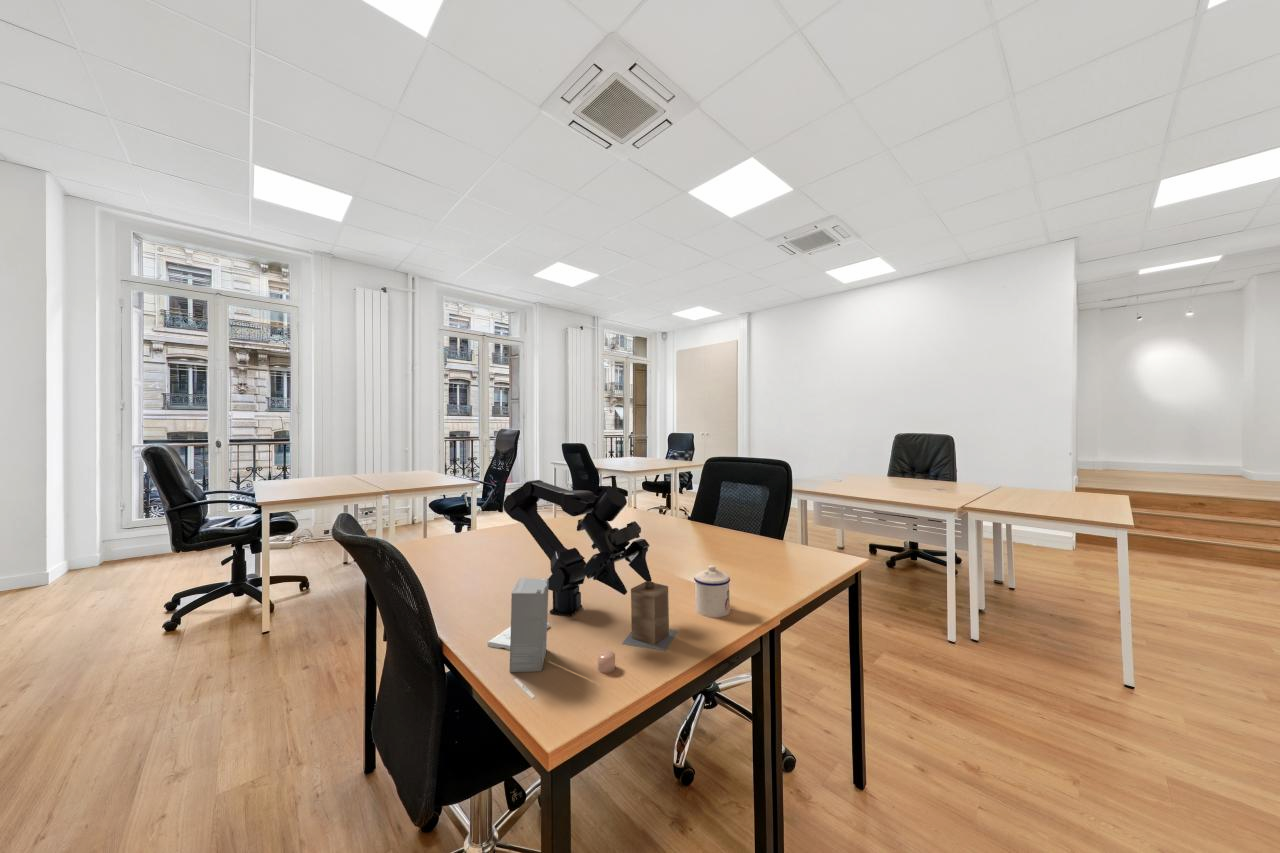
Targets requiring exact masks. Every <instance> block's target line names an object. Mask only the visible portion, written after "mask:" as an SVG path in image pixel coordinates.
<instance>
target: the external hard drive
mask: <svg viewBox="0 0 1280 853" xmlns="http://www.w3.org/2000/svg"><path fill="white" fill-rule="evenodd" d="M550 627H551V623H549V622H548V621H547V628H548V629H549V628H550ZM510 640H511V625H510V626H509V627H507V629H505V630H503V631H501V632H500V633H499V634H498V635H497V636H495V637H493V638H491V639H490V640H489V641H487V647H491V648H495V649H496V648H498V649H505V650H506V651H508V650H509V651H510Z"/></svg>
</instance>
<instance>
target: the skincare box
mask: <svg viewBox="0 0 1280 853" xmlns="http://www.w3.org/2000/svg"><path fill="white" fill-rule="evenodd" d="M548 585H549V577H548V578H547V577H546V578H542V577H541V578H536V577H535V578H533V577H532V578H531V577H529V578H528V577H526V578H525V577H524V578H519V579H518V581H517V582H516V584H515V586H514V588H513V590H511V593H510V594H511V606H510V607H511V609H510V610H511V611H510V612H511V614H510V626H511V640H510V650H509V655H510V656H509V672H510V673H525V672H526V673H527V672H528V673H529V672H530V673H531V672H541V671H543V667H544V662H545V657H546V652H547V646H548V645H547V640H548V639H547V638H548V637H547V636H548V629H547V622H548V611H549V610H548V609H549V608H548V607H549V590H548Z"/></svg>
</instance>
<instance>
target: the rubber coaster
mask: <svg viewBox="0 0 1280 853" xmlns="http://www.w3.org/2000/svg"><path fill="white" fill-rule="evenodd" d="M678 631H679V629H671V628H669V636H667V637H666V638H664V639H663V640H662V641H660V642H659V643H657V644H656V645H654V646H653V645H650V644H647V643H644V642H641V641H638V640H635V639H632V631H630V633H629V634H628V635H627V636H626V638H625V639H624V640H623V641H622V643H621V645H626V646H632V647H636V648H637V647H638V648H644V649H650V650H657V651H663V652H667V649H668V648H669V647H670V645H671V643H672V641H673V639H674V638H675V636H676V635H677V633H678Z"/></svg>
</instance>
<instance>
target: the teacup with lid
mask: <svg viewBox="0 0 1280 853" xmlns="http://www.w3.org/2000/svg"><path fill="white" fill-rule="evenodd" d="M693 580H694V584H695V585H694V586H695V588H694V590H695V591H694V592H695V594H694V596H695V612H696V614H698V615H701V616H703V617H707V618H713V619H714V618H715V619H716V618H722V617H725V616H726V617H727V616H728V615H730V612H731V609H730V608H731V607H730V606H731V602H730V599H731V598H730V582H731V578H730V576H729V574H727V573H726V572H723V571H720V570H718V569H717V568H716V566H715V565H712V564H711V565H710V564H709V565H708V566H707V568H706V569H704V570H702V571H699V572H697V573H696V574H694V577H693Z"/></svg>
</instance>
